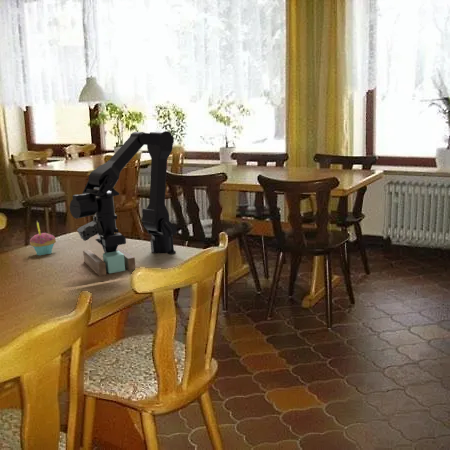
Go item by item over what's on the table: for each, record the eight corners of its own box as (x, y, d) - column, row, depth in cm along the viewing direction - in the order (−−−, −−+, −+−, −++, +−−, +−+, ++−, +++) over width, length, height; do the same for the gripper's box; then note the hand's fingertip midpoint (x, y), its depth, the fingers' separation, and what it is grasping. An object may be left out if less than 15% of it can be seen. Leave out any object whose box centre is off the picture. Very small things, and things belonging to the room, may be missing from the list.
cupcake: (49, 257, 215) (45, 222, 212) (26, 257, 217) (21, 222, 214) (61, 250, 223) (57, 216, 221) (38, 250, 225) (34, 216, 222)
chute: (118, 258, 210) (116, 244, 209) (135, 271, 194) (134, 257, 193) (84, 263, 205) (82, 250, 204) (99, 278, 189) (98, 263, 188)
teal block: (120, 266, 198) (118, 250, 196) (125, 270, 193) (123, 254, 192) (104, 269, 195) (102, 253, 194) (108, 273, 191) (107, 257, 190)
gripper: (71, 210, 199) (76, 259, 203) (86, 221, 183) (91, 274, 187) (106, 205, 204) (111, 253, 208) (124, 216, 188) (128, 267, 191)
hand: (109, 262), depth 198 cm, fingers closed
